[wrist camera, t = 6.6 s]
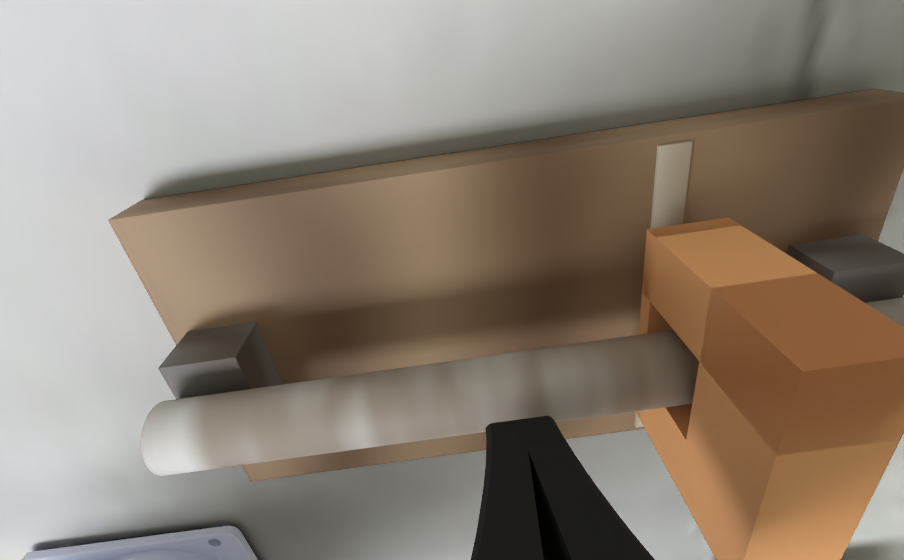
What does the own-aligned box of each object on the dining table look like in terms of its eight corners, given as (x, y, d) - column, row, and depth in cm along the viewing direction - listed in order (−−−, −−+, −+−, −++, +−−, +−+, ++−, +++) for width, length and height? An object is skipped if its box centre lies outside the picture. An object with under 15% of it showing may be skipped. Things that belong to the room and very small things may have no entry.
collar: (632, 406, 14) (733, 591, 9) (646, 229, 11) (802, 371, 7) (697, 397, 14) (831, 579, 9) (728, 217, 11) (943, 351, 6)
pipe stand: (264, 447, 17) (209, 588, 13) (141, 200, 13) (-12, 291, 8) (789, 375, 17) (915, 496, 13) (873, 88, 12) (1129, 123, 8)
